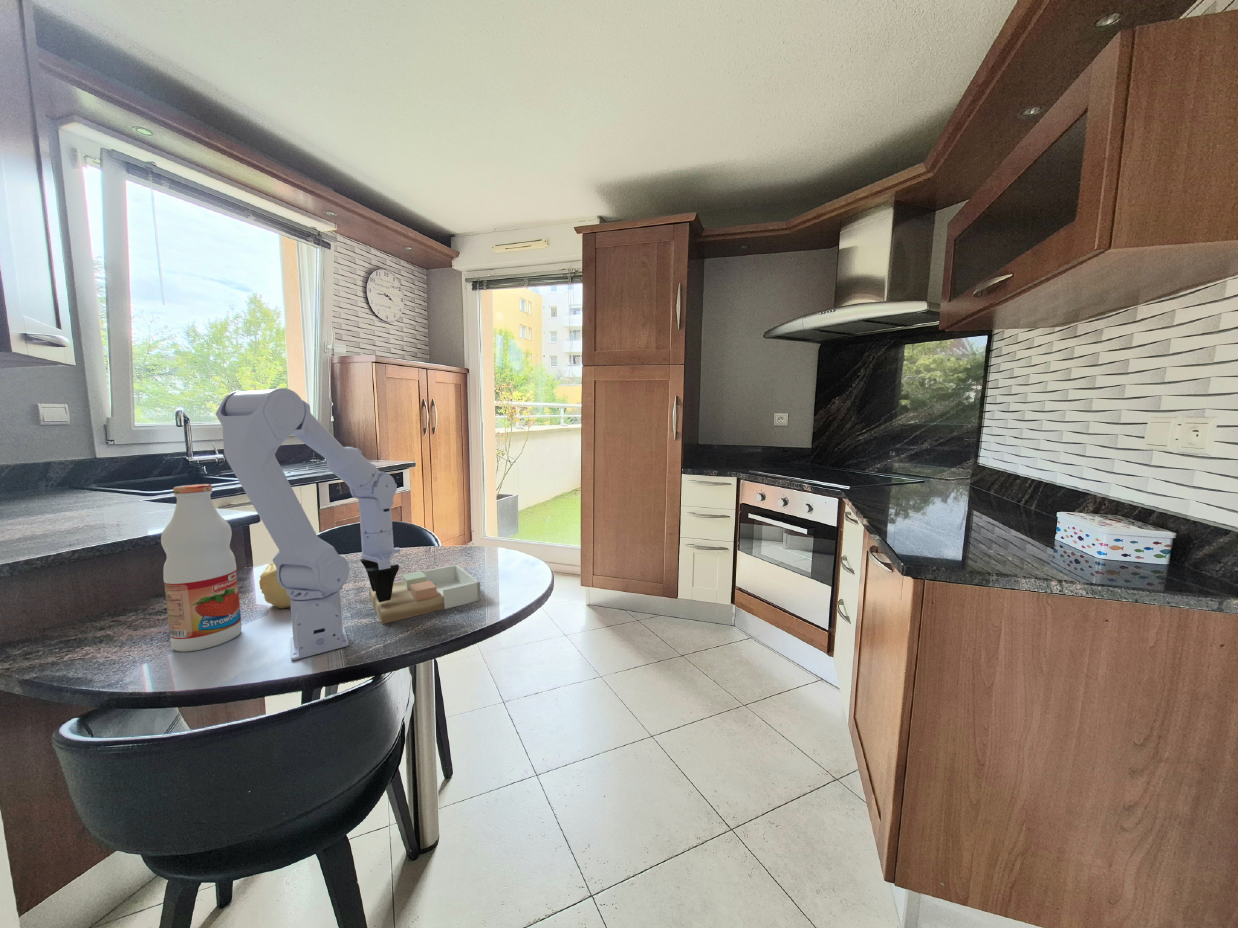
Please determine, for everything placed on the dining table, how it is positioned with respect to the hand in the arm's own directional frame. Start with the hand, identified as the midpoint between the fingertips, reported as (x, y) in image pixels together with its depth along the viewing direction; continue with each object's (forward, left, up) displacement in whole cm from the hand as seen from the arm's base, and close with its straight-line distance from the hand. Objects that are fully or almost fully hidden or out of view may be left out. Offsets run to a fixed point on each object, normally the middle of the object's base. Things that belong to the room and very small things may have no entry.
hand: (381, 595), depth 92 cm
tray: (0, -14, -3) cm, 14 cm away
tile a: (-4, -7, 0) cm, 8 cm away
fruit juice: (+5, +27, -3) cm, 28 cm away
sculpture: (+17, +14, -3) cm, 22 cm away
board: (0, -4, -3) cm, 5 cm away
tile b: (+4, -7, 0) cm, 8 cm away
